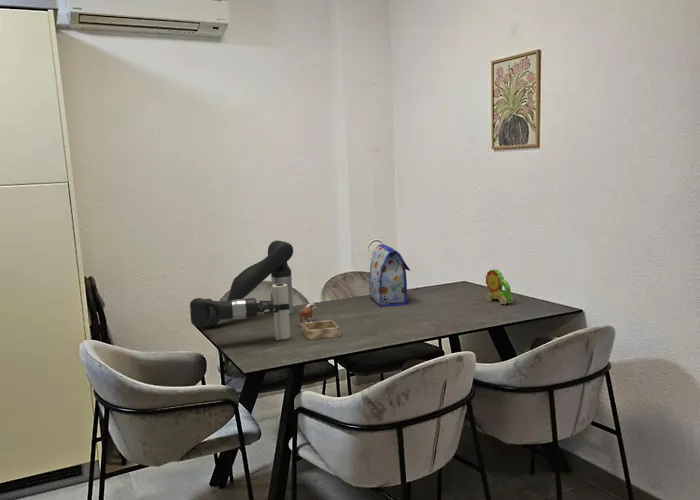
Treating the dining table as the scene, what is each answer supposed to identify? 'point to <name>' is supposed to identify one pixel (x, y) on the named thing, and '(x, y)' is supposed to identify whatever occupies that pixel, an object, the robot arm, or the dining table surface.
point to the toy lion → (498, 287)
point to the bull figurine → (307, 313)
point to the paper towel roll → (281, 312)
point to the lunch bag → (388, 277)
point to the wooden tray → (320, 329)
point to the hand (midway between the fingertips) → (287, 305)
